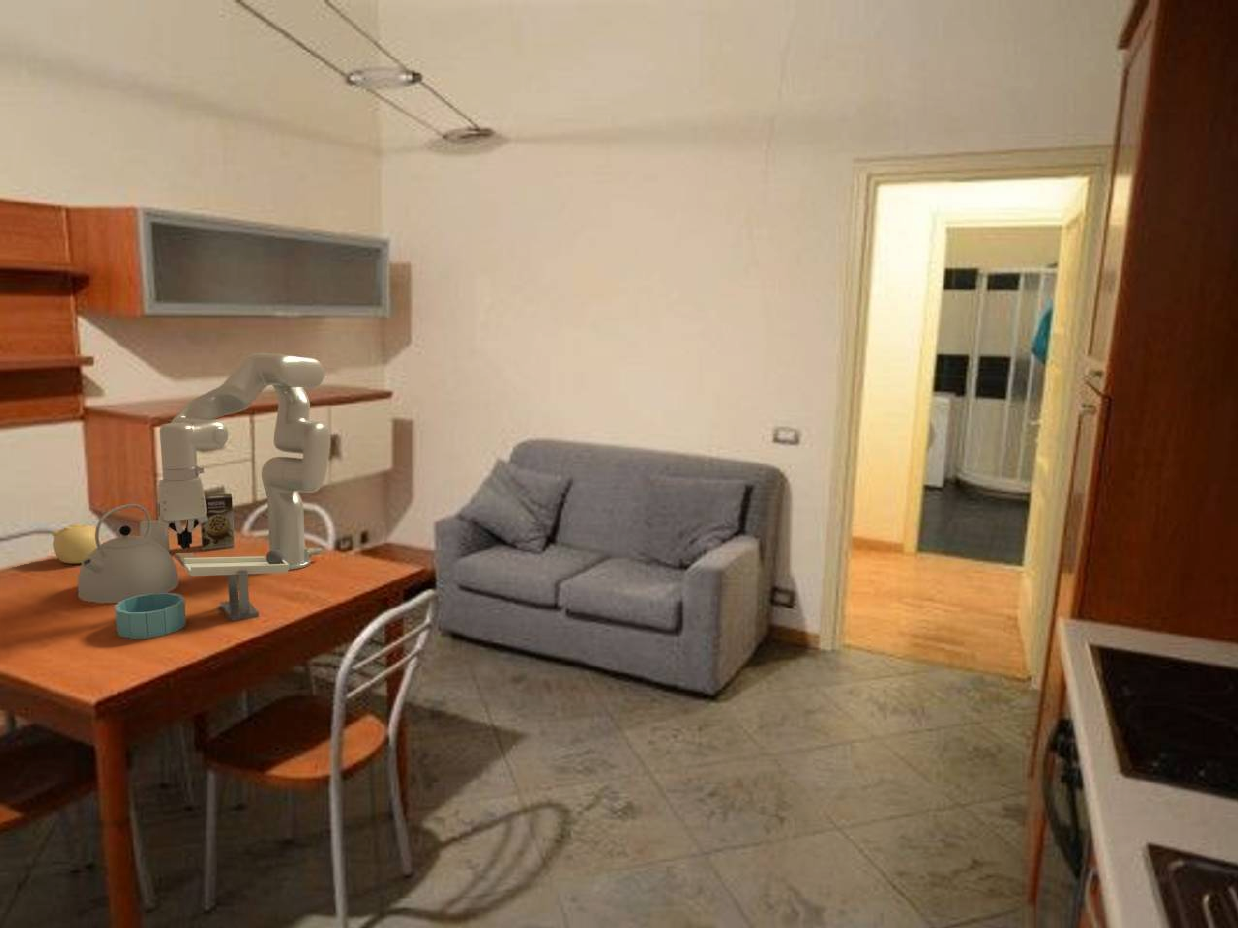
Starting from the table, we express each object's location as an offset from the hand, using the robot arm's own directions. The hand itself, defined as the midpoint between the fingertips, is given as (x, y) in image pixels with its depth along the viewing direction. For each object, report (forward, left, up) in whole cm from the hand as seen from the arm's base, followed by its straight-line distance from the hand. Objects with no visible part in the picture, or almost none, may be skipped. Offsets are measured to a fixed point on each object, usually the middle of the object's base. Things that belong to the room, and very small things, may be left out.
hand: (185, 547), depth 204 cm
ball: (-18, +11, -3) cm, 21 cm away
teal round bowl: (+10, +11, -15) cm, 21 cm away
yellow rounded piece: (+18, -56, -15) cm, 61 cm away
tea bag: (-1, -53, -15) cm, 55 cm away
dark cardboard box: (-18, -51, -15) cm, 56 cm away
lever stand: (-9, +11, -15) cm, 21 cm away
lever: (-9, +6, -6) cm, 12 cm away
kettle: (+11, -21, -15) cm, 28 cm away
